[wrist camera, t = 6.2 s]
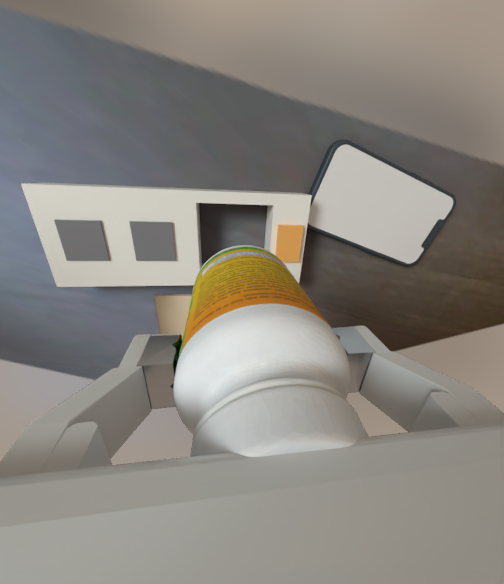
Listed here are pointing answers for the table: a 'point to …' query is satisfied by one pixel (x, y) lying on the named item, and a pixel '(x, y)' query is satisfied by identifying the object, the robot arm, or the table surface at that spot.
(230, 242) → the table surface
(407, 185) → the phone case
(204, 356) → the supplement bottle
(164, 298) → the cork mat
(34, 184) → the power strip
